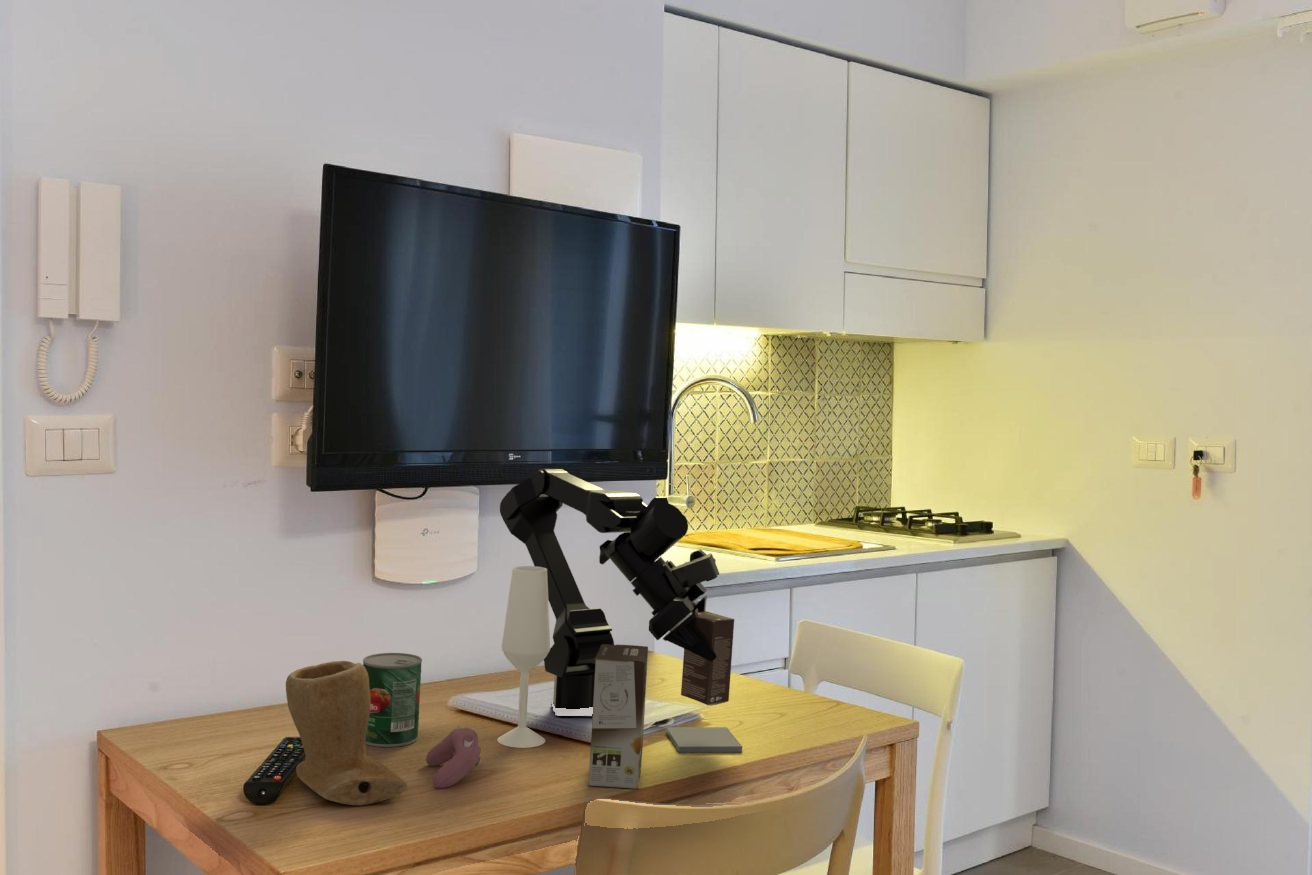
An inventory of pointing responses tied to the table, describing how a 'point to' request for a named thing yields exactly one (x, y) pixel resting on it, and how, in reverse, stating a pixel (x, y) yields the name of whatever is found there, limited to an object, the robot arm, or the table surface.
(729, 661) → the box
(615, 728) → the coffee box
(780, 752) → the table surface
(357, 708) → the brown boot
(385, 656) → the canned tomato
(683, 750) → the slate pad
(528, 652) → the champagne flute
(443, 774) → the purple curved piece
